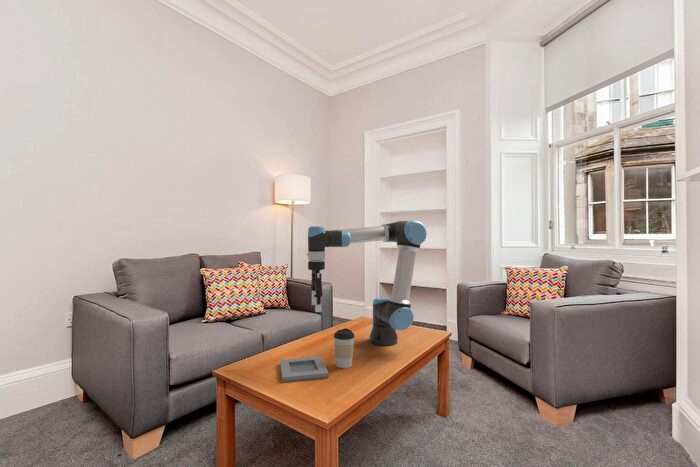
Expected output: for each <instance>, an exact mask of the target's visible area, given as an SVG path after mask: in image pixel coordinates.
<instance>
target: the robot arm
mask: <svg viewBox="0 0 700 467" xmlns="http://www.w3.org/2000/svg"><path fill="white" fill-rule="evenodd" d="M427 234H428V232H427V229H426V227H425V226H424V224H423V223H422V222H420V221H418V220H412V219H411V220H399V221H394V222H390V223H383V224H381V225H380V226H379V225H378V226H366V227H356V228H344V229H334V230H331V229H330V230H329V229H328V230H326V228H325V226H324V225H323V226H319V225H317V226H308V230H307V253H306V256H307V260H308V261H307V269H308V270H309V271H311V284H310V288H311V306H315V307H314V312H315V313H321V312H323V308H322V307H323V306H322V304H323V302H322V300H323V296H324V295H323V284H322V273H321V271H324V270H325V268H326V267H325V266H326V262H325V260H326V248H345V247H349V246H350V244H359V243H360V244H361V243H368V242H369V243H371V242H380V241H382V242H383V243H396V247H397V248H398V254H397V259H396V260H397V261H396V266H395V273H394V280H393V285H392V291H391V296H389V297H377V298H376V297H375V298H374V299H373V300H372V327H371V330H370V334H369V338H368V339H369V342H370V343H371V344H374V345H377V346H393V345H396V344H398V342H399V338H398V333H397V331H399V332H400V331H406V330H407V329H409V328H410V327H411V326H412V324H413V322H414V319H415V317H414V316H415V315H414V312H413V311H412V309H411V307H412V303H411V301H410V295H411V287H412V280H413V274H414V270H415V262H416V256H417V254H416V253H417V252H418V251H419V250H420V249H421V244H423V242H424V241H426V238H427ZM396 330H397V331H396Z"/></svg>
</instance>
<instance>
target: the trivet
mask: <svg viewBox="0 0 700 467" xmlns="http://www.w3.org/2000/svg"><path fill="white" fill-rule="evenodd" d="M279 366H280V376H281V382H282V383H291V382H301V381H310V380H321V379H329V371H328V368H327V366H326V365H325V363H324V359H323V358H322V356H320V355H319V356H308V357H297V358H286V359H285V358H284V359H283V358H282V359H280V360H279Z"/></svg>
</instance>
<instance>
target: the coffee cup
mask: <svg viewBox="0 0 700 467" xmlns="http://www.w3.org/2000/svg"><path fill="white" fill-rule="evenodd" d="M333 338H334V341H333V342H334V344H333V345H334V357H335V366H336V367H338V368H341V369H348V368H351V367H352V365H353V356H354V346H355V342H354V341H355V333H354V332H353V331H352V330H350V329H348V328H342V329H338V330H336V332H334V334H333Z"/></svg>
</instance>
